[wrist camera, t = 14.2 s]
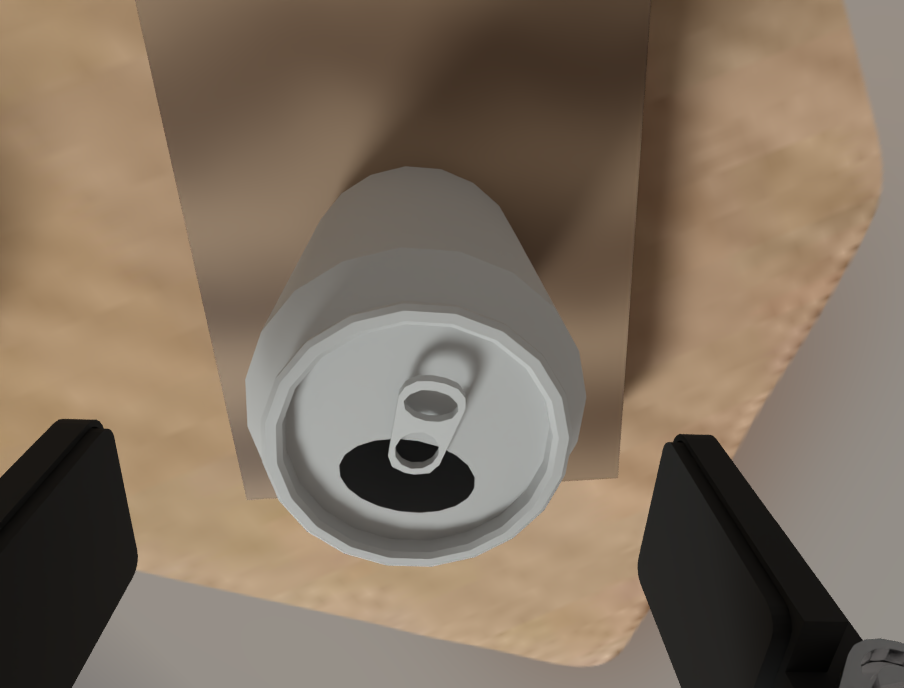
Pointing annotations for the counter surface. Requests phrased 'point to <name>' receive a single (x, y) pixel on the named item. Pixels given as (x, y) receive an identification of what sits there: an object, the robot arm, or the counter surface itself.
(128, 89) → the counter surface
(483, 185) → the chopping block
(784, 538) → the robot arm
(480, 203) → the can
